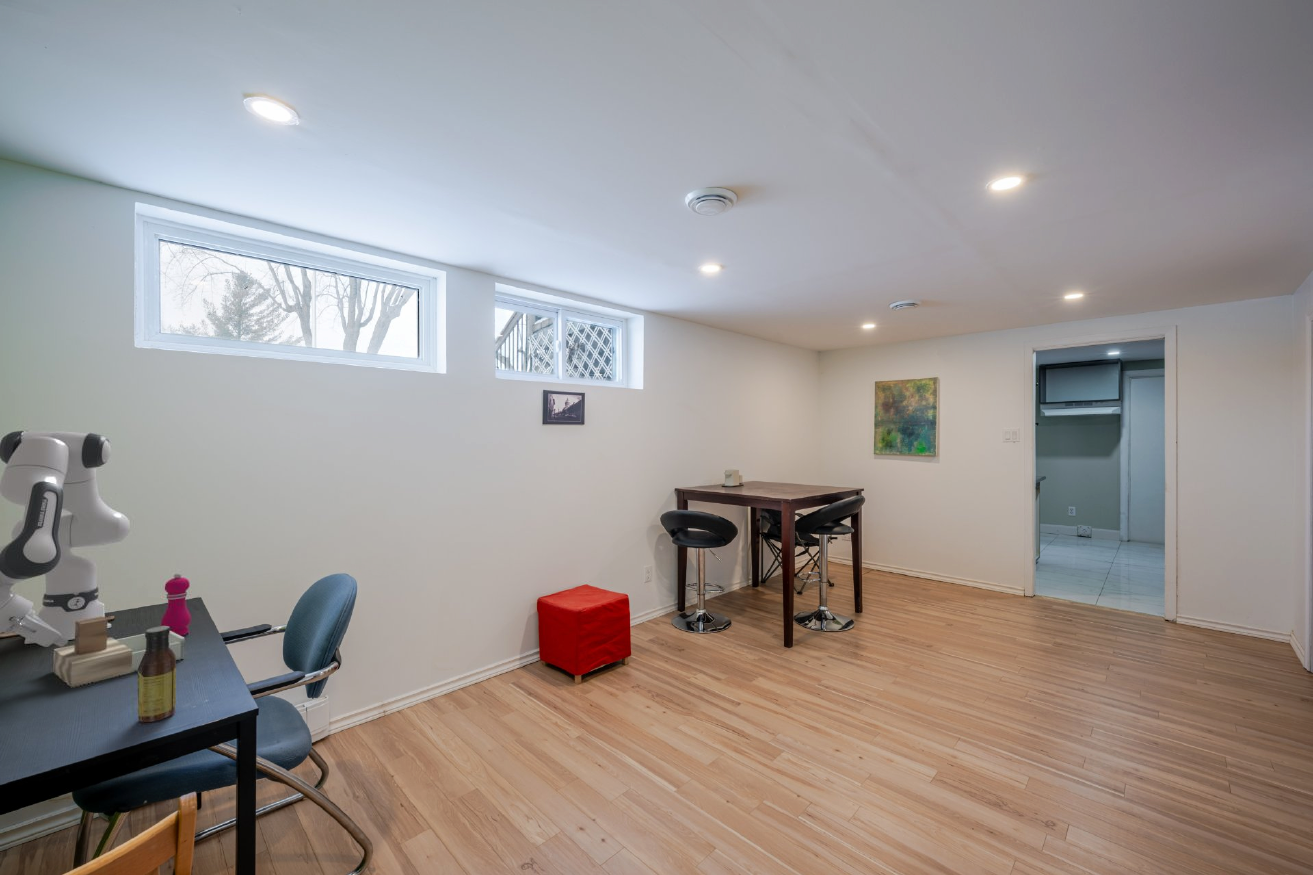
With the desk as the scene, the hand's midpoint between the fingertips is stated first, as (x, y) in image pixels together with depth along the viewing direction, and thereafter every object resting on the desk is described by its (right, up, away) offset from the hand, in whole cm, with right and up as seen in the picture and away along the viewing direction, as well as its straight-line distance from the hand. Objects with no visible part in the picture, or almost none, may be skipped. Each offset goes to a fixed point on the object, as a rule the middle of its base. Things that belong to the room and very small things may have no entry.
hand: (64, 643), depth 138 cm
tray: (+9, -10, +14) cm, 19 cm away
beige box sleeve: (+3, -9, +4) cm, 11 cm away
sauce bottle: (+42, -9, -19) cm, 47 cm away
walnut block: (+3, -3, +4) cm, 6 cm away
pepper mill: (-1, -10, +33) cm, 34 cm away
